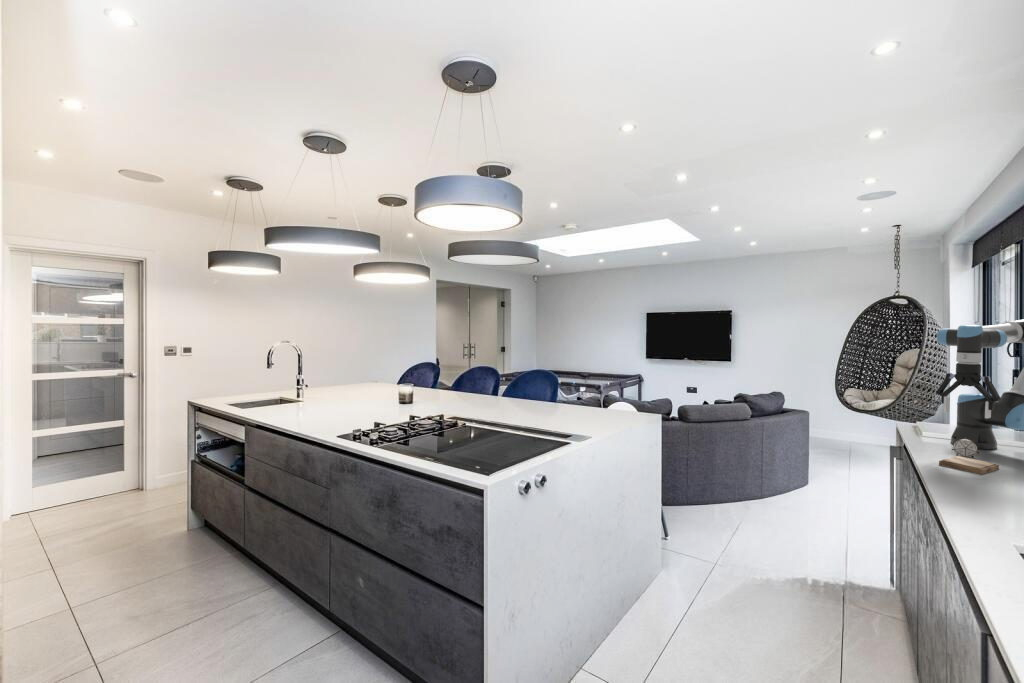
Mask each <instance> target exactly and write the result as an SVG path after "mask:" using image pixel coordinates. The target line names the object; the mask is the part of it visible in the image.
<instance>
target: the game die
mask: <svg viewBox="0 0 1024 683" xmlns="http://www.w3.org/2000/svg"><path fill="white" fill-rule="evenodd" d="M957 440H958V441H956V442H955V443H951V444H952V445H953V448H952V449H951V451H954V452H955V453H956V454H955V456H956V455H957V456H961V457H966V458H972V459H974V455H976V454H980V452H978V448H977V447H979V446H976V445H975V443H974V441H975V440H973V441H970V440H968V439H966V437H965V439H960V440H959V439H958V438H957Z"/></svg>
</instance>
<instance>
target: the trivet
mask: <svg viewBox="0 0 1024 683" xmlns="http://www.w3.org/2000/svg"><path fill="white" fill-rule="evenodd" d="M938 465H939V466H942V465H943V467H947V466H948V468H951V467H952V468H951V469H957V470H960V471H965V472H969V473H973V474H979V475H983V474H988V473H990V472H994V471H997V470H999V468H1000V464H997V463H994V462H989V461H985V460H979V459H974V458H971V457H963V456H961V455H957V456H956V455H955V456H952V457H948V458H944V459H941V460H939V461H938Z"/></svg>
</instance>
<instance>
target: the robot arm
mask: <svg viewBox="0 0 1024 683" xmlns="http://www.w3.org/2000/svg"><path fill="white" fill-rule="evenodd" d="M936 342H938V344H940V345H941V346H947V347H956V358H955V359H956V360H955V362H957V363H956V364H955V373H952V372H950V373H949V372H948V373H946V374H945V377H944V379H943V381H942V383H941V384H940V385H939V387H938V388H937V390H936V392H935V394H936V395H939V396H941V398H940V399H941V401H940V403H941V404H942V405H943V413H949V412H950V398H951V397H950V396H949V395H950V394H951V393H952V392H953V391H955V390H956V389H957V388H958V387H959V386H965V387H973V388H975V389H977V391H979V393H963V394H959V395H958V397H957V402H956V426H955V428H954V430H953V432H952V434H951V437H950V443H951V444H952V443H955V442H956V441H958V440H957V438H958V439H959V440H960V439H965V437H966V439H968V440H970V441H973V440H975V441H974V443H975V445H976V446H979V447H977V450H978V449H979V450H995V449H997V448H998V442H997V439H996V436H995V434H994V431H993V426H994V427H1001V428H1006V429H1011V430H1012V431H1013V430H1016V431H1017V430H1018V431H1024V367H1022V369H1021V371H1020V373H1019V375H1018V377H1017V378H1016V380H1015V382H1014V384H1012V387H1011V388H1010V390H1009V391H1004V392H1003V393H1002V394H1001V395H1000V394H999V392H998V391H997V389H996V387H995V385H994V383H993V382H992V377H991V376H989V375H988V376H982V375H981V373H982V364H981V363H982V352H983V351H982V350H983V349H996V348H997V349H998V348H1001V347H1003V346H1005V345H1006V343H1008V344H1009V343H1010V344H1013V343H1019V344H1024V319H1017V320H1012V321H1011V320H1009V321H1004V322H1003V323H1001V324H992V325H980V324H978V325H977V324H970V325H969V324H967V325H965V324H963V325H961V324H960V325H959V326H957V328H941V329H939V330H938V332H937V333H936ZM953 379H955V382H953V383H952V385H950V386H949V384H950V382H951V381H952V380H953ZM981 381H982V382H984V384H985V386H986V388H987V389H986V388H985V387H984V386H983V384H982V383H981ZM947 387H948V388H947ZM987 390H988V391H989V392H988V391H987Z"/></svg>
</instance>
